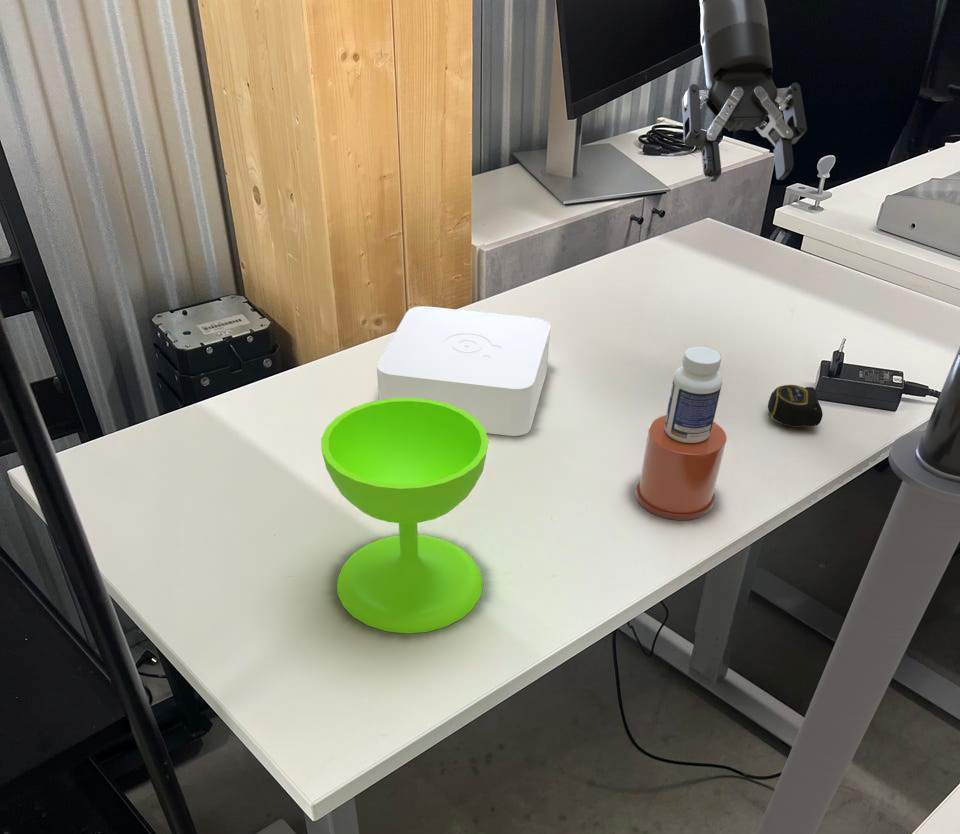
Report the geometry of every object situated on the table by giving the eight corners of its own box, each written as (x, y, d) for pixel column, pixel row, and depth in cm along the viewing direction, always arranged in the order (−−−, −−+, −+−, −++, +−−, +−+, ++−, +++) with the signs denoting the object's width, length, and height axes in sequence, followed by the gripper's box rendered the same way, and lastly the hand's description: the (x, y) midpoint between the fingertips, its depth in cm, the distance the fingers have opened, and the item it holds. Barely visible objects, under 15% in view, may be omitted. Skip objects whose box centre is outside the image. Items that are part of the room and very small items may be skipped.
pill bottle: (719, 439, 106) (738, 361, 100) (680, 449, 105) (697, 370, 98) (692, 416, 110) (708, 339, 103) (654, 425, 108) (668, 348, 101)
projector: (550, 359, 138) (554, 315, 133) (528, 438, 122) (531, 391, 117) (414, 344, 140) (413, 300, 136) (375, 419, 125) (372, 372, 120)
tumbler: (729, 505, 113) (746, 441, 106) (669, 529, 109) (683, 464, 102) (678, 467, 118) (691, 404, 112) (619, 488, 114) (629, 424, 108)
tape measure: (818, 434, 125) (826, 410, 122) (767, 429, 125) (774, 405, 123) (812, 408, 130) (819, 384, 127) (763, 404, 130) (769, 380, 128)
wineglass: (413, 520, 109) (409, 381, 96) (513, 583, 101) (523, 441, 88) (306, 582, 100) (286, 438, 88) (406, 656, 92) (400, 510, 80)
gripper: (689, 19, 103) (704, 162, 103) (807, 18, 105) (822, 158, 105) (666, 62, 111) (680, 195, 111) (777, 60, 113) (791, 191, 113)
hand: (749, 177), depth 108 cm, fingers open, 8 cm apart
